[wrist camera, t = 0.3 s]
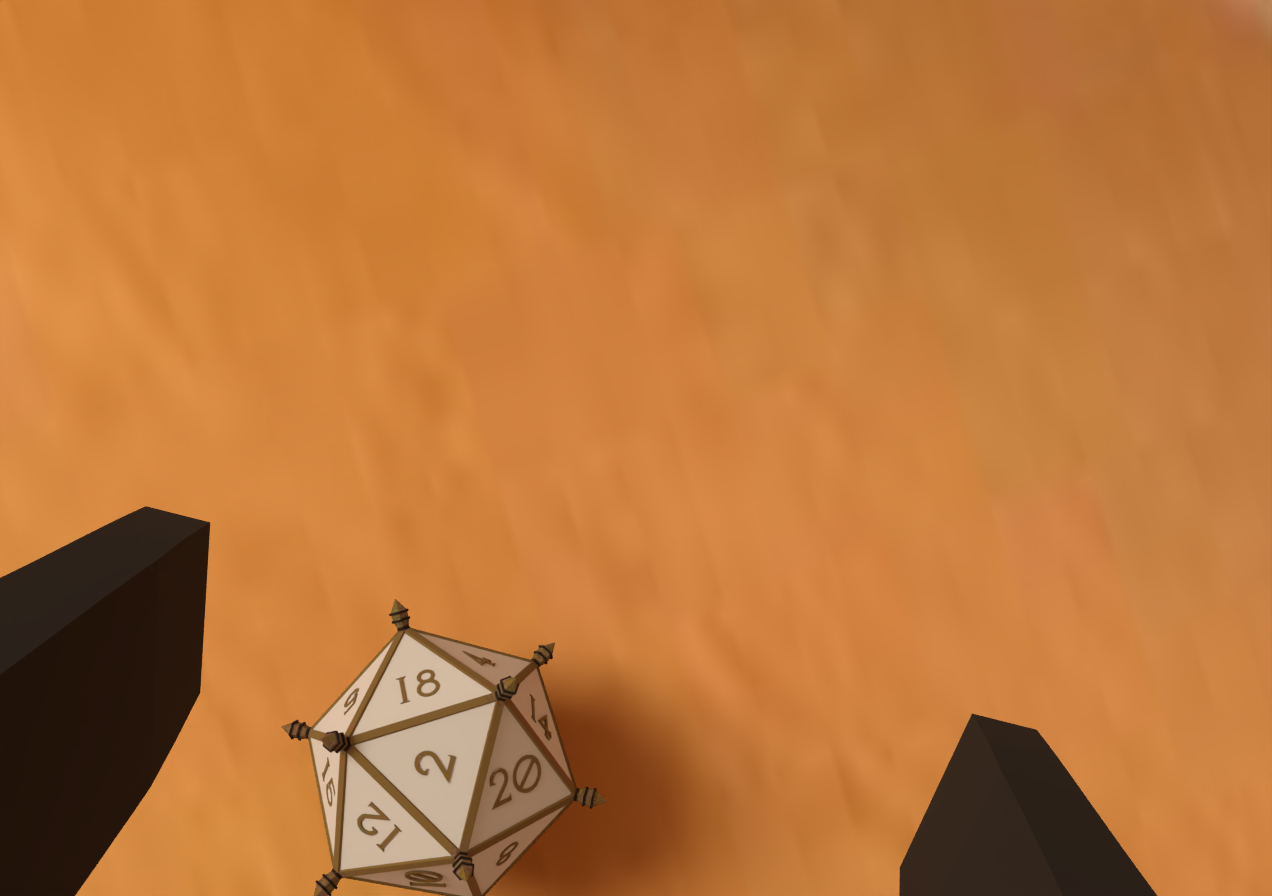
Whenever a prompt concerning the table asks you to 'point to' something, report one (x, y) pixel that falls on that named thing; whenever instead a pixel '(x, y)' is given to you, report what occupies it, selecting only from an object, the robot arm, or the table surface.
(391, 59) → the table surface
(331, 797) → the game die
